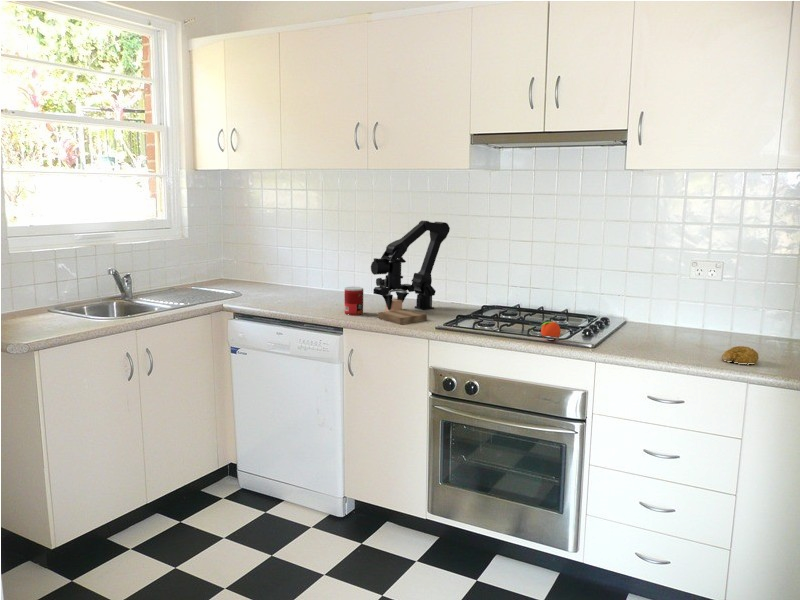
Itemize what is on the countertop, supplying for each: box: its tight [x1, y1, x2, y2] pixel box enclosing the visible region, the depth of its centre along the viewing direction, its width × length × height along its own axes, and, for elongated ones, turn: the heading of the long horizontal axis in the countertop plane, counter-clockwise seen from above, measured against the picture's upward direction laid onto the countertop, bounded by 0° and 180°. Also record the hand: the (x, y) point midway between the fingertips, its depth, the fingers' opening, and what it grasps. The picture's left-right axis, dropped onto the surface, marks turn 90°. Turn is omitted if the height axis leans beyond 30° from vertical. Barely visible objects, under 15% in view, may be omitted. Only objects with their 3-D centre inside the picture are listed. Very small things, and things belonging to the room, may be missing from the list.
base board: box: [377, 308, 428, 325], centre depth 272 cm, size 14×14×2 cm
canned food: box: [344, 286, 364, 316], centre depth 282 cm, size 8×8×11 cm
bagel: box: [720, 345, 760, 364], centre depth 216 cm, size 10×11×5 cm
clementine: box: [539, 320, 562, 338], centre depth 240 cm, size 8×7×7 cm
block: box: [385, 298, 403, 312], centre depth 289 cm, size 5×5×5 cm
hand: (393, 309), depth 289 cm, fingers closed on block, 5 cm apart
